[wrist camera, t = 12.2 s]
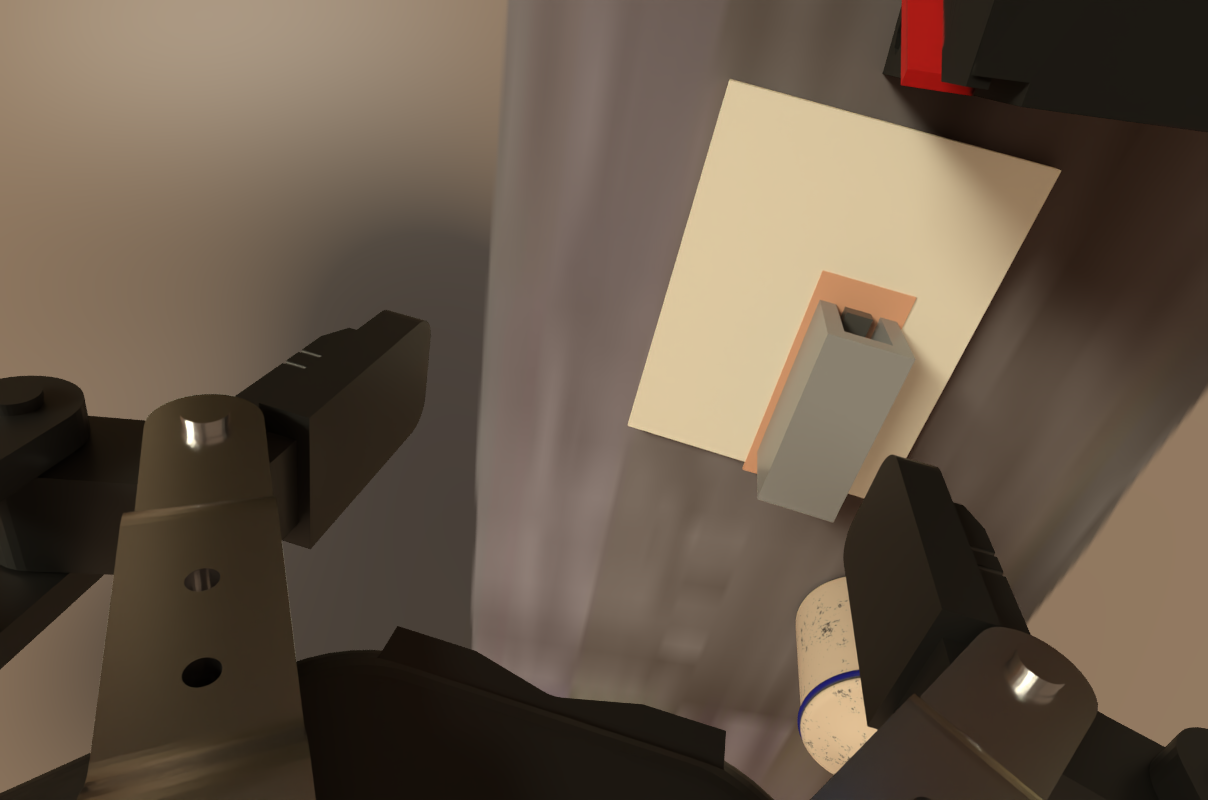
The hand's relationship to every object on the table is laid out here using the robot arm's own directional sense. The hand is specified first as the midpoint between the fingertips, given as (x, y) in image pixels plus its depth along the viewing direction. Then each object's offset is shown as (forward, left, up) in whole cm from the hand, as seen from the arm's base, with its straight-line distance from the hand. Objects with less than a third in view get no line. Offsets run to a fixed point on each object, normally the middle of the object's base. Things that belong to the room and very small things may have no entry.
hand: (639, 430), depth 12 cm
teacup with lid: (+24, +18, -28) cm, 41 cm away
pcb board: (+6, +7, -28) cm, 29 cm away
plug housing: (+10, +9, -27) cm, 30 cm away
